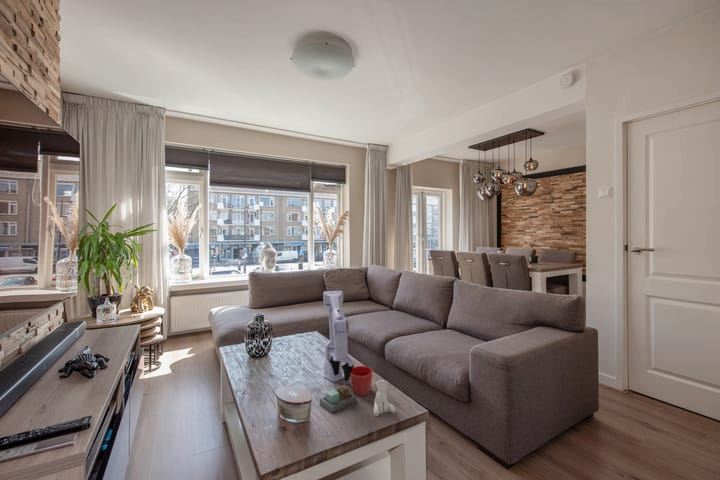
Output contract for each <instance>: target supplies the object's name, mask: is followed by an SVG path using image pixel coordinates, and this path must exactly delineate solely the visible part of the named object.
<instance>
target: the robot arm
mask: <svg viewBox="0 0 720 480" xmlns="http://www.w3.org/2000/svg"><path fill="white" fill-rule="evenodd" d="M322 297H323V306H324V308H326V309H327V311H328V327H329V341H328V342H326V344H325V346H324V358H325V360H324V370H323V372H324V374H323V378H326V379H327V380H329V381H331V382H333V383H335V382H338V381H340V380H343V379H344V381H345V382H348V381H349V380H351V378H350V375H351V371H352V369H353V367H355V363H354V362H355V361H354V360H353V359H352V358H350V356H348V355H349V353H348V350H349V349H348V333H349V327H350V326H349V322H348V319H347V317H346V316H345V313H344V310H343V308H341V307H342V305H343V302H344V293H343V290H332V291H330V290H329V291H325V290H324V291H323V294H322Z"/></svg>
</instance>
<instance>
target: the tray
mask: <svg viewBox="0 0 720 480" xmlns="http://www.w3.org/2000/svg"><path fill="white" fill-rule="evenodd" d="M356 402H357V395H356V394H355V393H353V392H350V397H349V398H347V399H345V400H343V401H339V403H337V404H334V405H332V404H330V403H328V402H327V401H326V395H325V396H324V397H321V398H319V405H320V406H321V407H322V408H324V409H325V410H327V411H328V412H330V413H332V414H334V413H336V412H338V411H340V410H342V409H343V408H347V407H348V406H350V405H352V404H354V403H356Z"/></svg>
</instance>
